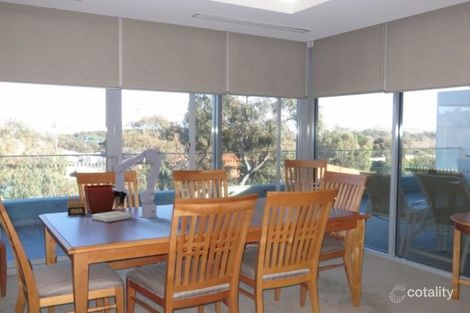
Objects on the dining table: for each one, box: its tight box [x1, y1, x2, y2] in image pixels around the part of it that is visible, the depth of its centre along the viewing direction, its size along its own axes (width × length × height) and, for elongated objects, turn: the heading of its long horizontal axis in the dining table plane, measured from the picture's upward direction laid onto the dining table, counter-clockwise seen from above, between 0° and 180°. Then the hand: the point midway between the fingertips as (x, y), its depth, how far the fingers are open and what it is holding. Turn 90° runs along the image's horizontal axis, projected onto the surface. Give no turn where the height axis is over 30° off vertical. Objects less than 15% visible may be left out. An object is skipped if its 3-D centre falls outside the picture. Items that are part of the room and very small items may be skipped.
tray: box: [92, 210, 132, 223], centre depth 281 cm, size 14×18×3 cm
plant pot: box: [83, 184, 116, 213], centre depth 309 cm, size 19×19×17 cm
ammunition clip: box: [67, 195, 86, 216], centre depth 293 cm, size 11×2×12 cm, turn 110°
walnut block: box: [115, 196, 125, 207], centre depth 295 cm, size 4×4×6 cm
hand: (119, 203), depth 295 cm, fingers closed on walnut block, 4 cm apart
